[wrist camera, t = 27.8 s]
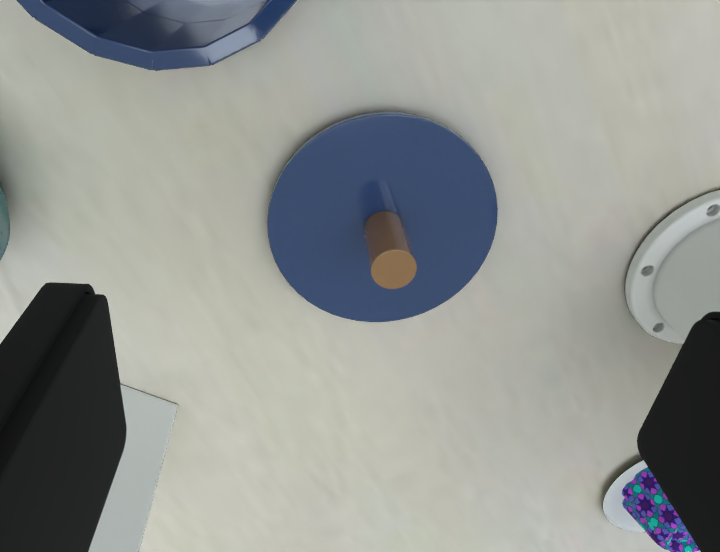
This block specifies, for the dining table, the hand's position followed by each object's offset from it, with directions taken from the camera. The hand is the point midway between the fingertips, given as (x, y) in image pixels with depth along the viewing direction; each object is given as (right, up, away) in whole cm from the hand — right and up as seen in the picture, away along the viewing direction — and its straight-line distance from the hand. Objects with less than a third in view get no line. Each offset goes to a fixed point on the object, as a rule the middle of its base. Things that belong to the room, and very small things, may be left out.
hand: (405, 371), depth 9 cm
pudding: (+28, -18, +45) cm, 56 cm away
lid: (+1, +5, +27) cm, 28 cm away
